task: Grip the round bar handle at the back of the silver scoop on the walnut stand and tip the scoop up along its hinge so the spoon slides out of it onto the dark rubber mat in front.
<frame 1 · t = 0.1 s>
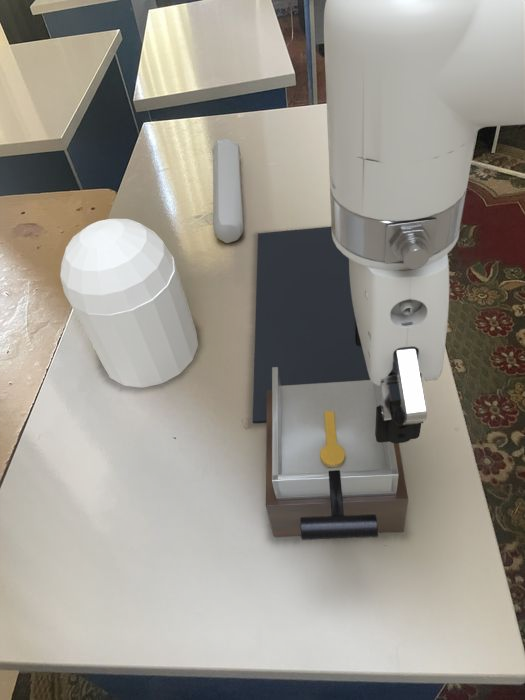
hand: (384, 386, 46), 18 cm above the table, tool pointing down, fingers open, 9 cm apart
spoon: (331, 438, 56), point 8 cm above the table, touching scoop
tube: (230, 203, 98), on the table
stand: (329, 422, 66), on the table
container: (150, 349, 78), on the table
mat: (320, 310, 78), on the table
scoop: (332, 447, 52), point 10 cm above the table, hinge at 0.0°, touching spoon, stand
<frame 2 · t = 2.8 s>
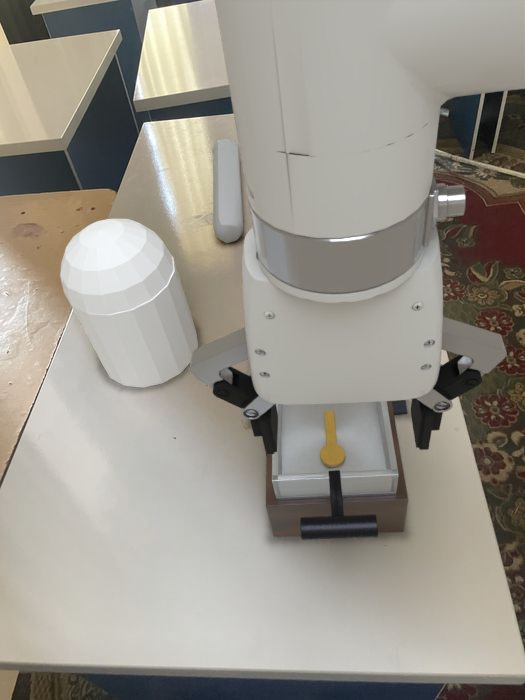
hand: (344, 433, 38), 23 cm above the table, tool pointing down, fingers open, 9 cm apart
nothing on the table moved.
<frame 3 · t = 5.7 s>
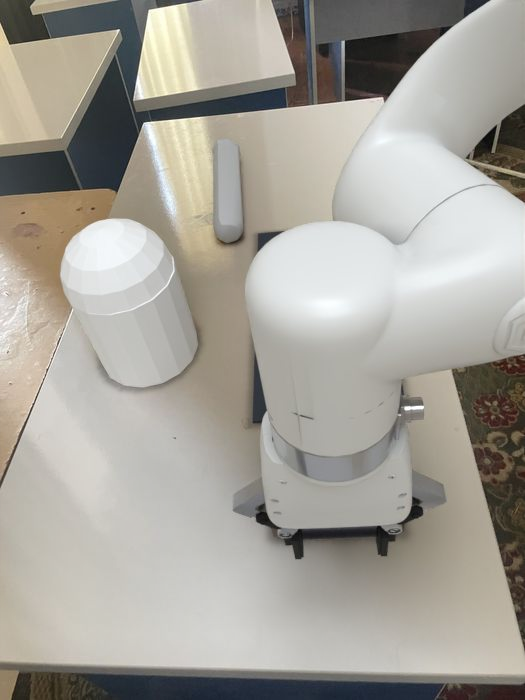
hand: (339, 539, 47), 10 cm above the table, tool pointing down, fingers closed on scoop, 6 cm apart
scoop: (332, 447, 52), point 10 cm above the table, hinge at 0.0°, touching gripper, spoon, stand
everything else where it was.
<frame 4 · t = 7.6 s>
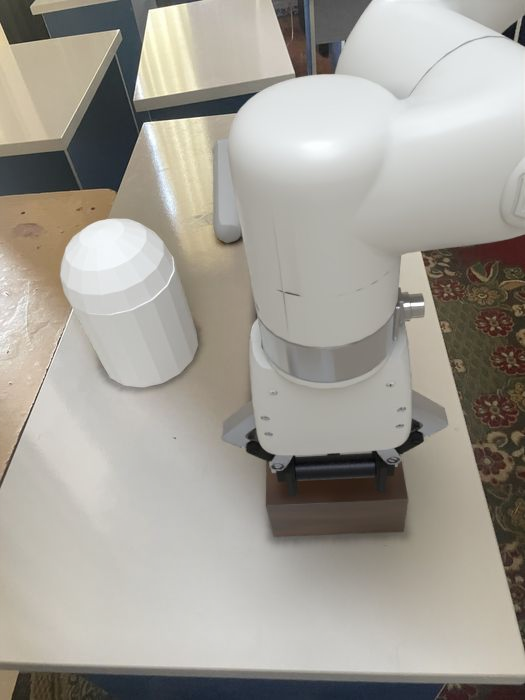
hand: (335, 476, 45), 15 cm above the table, tool pointing down, fingers closed on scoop, 6 cm apart
spoon: (330, 421, 55), point 10 cm above the table, tilted 18°, touching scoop
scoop: (330, 418, 51), point 13 cm above the table, hinge at 18.0°, touching gripper, spoon, stand
everything else where it was.
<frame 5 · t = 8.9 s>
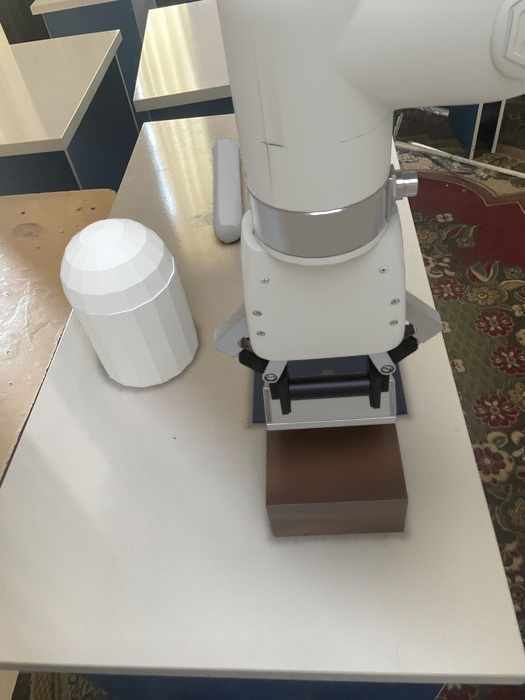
hand: (329, 395, 44), 20 cm above the table, tool pointing down, fingers closed on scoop, 6 cm apart
spoon: (359, 403, 67), resting on mat
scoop: (327, 382, 51), point 15 cm above the table, hinge at 37.0°, touching gripper, stand
everything else where it was.
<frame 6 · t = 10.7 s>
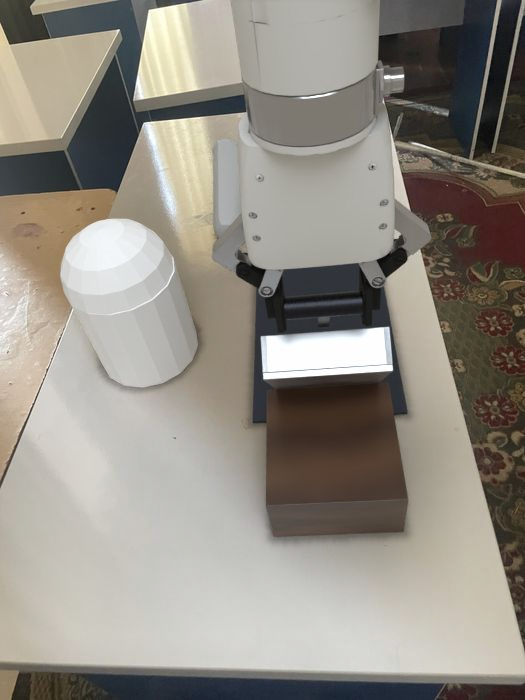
hand: (323, 315, 46), 23 cm above the table, tool pointing down, fingers closed on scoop, 6 cm apart
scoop: (324, 346, 52), point 17 cm above the table, hinge at 56.5°, touching gripper, stand
everything else where it was.
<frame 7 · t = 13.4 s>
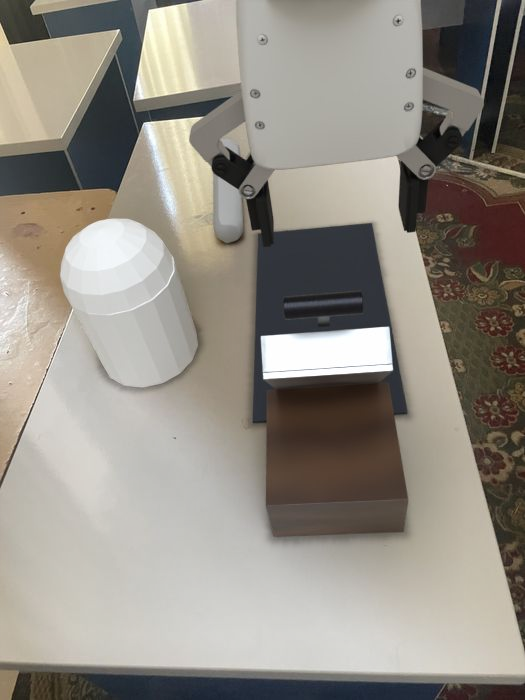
hand: (336, 227, 40), 31 cm above the table, tool pointing down, fingers open, 9 cm apart
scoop: (324, 346, 52), point 17 cm above the table, hinge at 56.6°, touching stand
everything else where it was.
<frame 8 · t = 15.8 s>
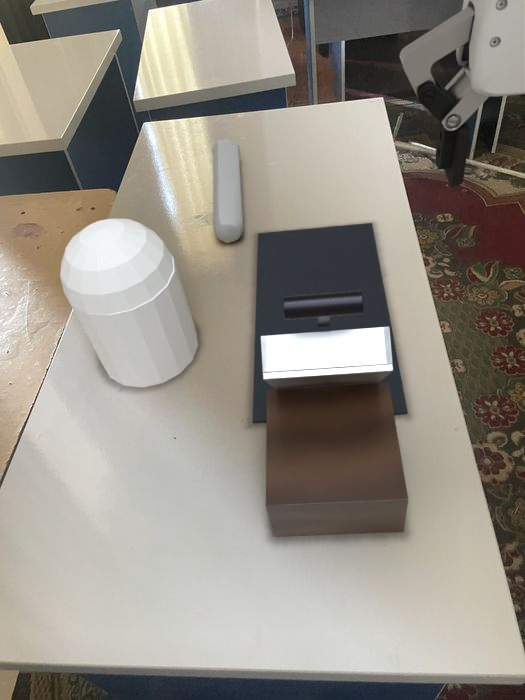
nothing on the table moved.
at the end: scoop reached +57° during the clip, +57° at the end; spoon resting on mat; spoon 16.8 cm from the mat (horizontally) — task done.
